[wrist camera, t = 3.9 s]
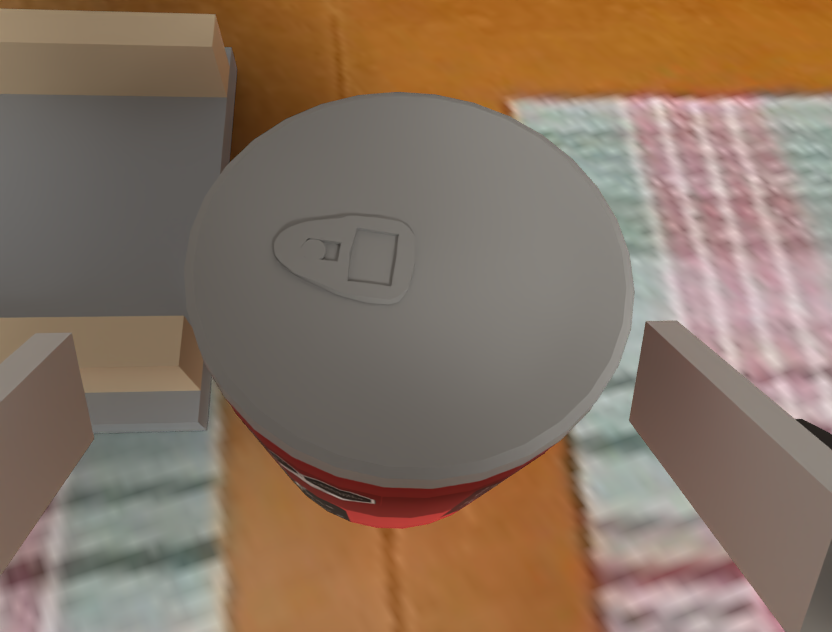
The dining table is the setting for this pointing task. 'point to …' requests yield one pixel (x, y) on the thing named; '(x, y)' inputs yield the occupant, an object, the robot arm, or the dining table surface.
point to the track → (111, 198)
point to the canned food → (406, 300)
